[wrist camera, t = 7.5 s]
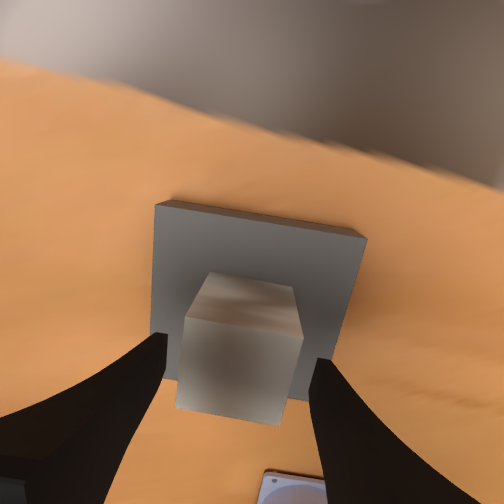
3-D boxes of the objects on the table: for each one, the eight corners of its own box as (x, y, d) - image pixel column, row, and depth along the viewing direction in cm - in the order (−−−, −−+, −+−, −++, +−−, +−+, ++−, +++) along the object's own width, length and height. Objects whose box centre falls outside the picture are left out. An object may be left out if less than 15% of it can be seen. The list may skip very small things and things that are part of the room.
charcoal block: (350, 227, 17) (367, 239, 14) (310, 371, 21) (318, 403, 18) (173, 198, 17) (155, 204, 14) (164, 347, 21) (148, 375, 18)
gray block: (292, 286, 16) (303, 338, 11) (275, 354, 17) (279, 426, 12) (209, 271, 16) (184, 316, 11) (200, 341, 17) (174, 407, 12)
